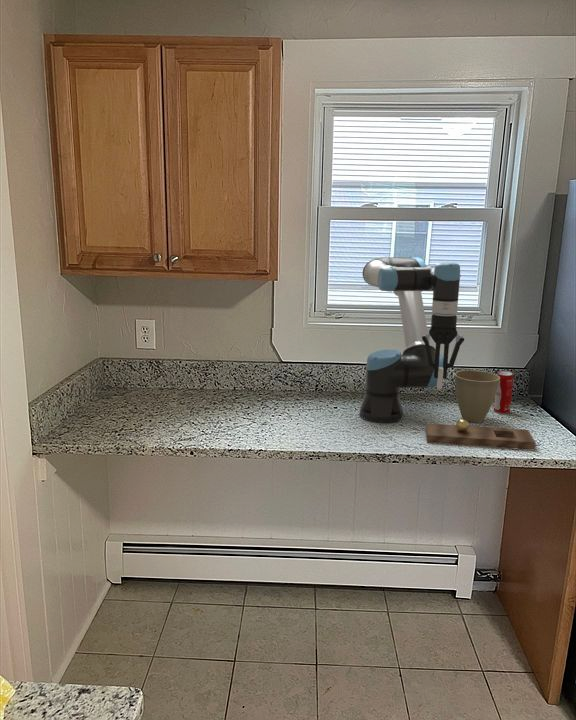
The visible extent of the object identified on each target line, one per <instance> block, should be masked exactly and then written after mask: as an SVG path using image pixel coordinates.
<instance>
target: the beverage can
mask: <svg viewBox="0 0 576 720" xmlns="http://www.w3.org/2000/svg"><path fill="white" fill-rule="evenodd" d="M496 375H498V376H499V377H500V380H499V384H498V388H497V391H496V394H495V397H494V400H493V411H494V413H496V414H499V415H507V414H509V413H510V412H511V406H512V397H513V387H514V378H515V377H514V374H513V372H511V371H507V370H501V371H498V372H497V374H496Z"/></svg>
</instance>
